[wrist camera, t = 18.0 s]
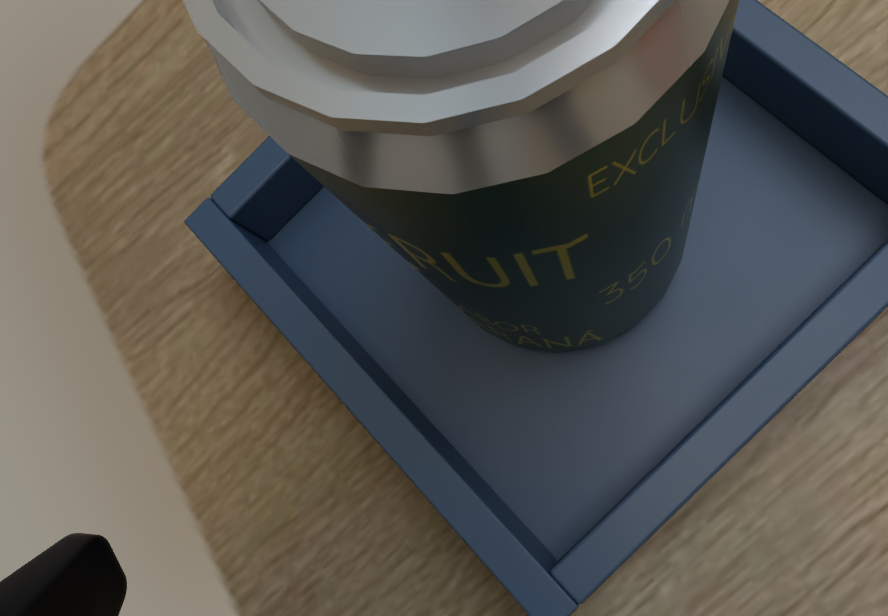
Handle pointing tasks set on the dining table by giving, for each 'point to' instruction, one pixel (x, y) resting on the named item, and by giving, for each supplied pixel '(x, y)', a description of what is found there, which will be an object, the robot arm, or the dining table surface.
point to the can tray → (611, 363)
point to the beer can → (496, 139)
